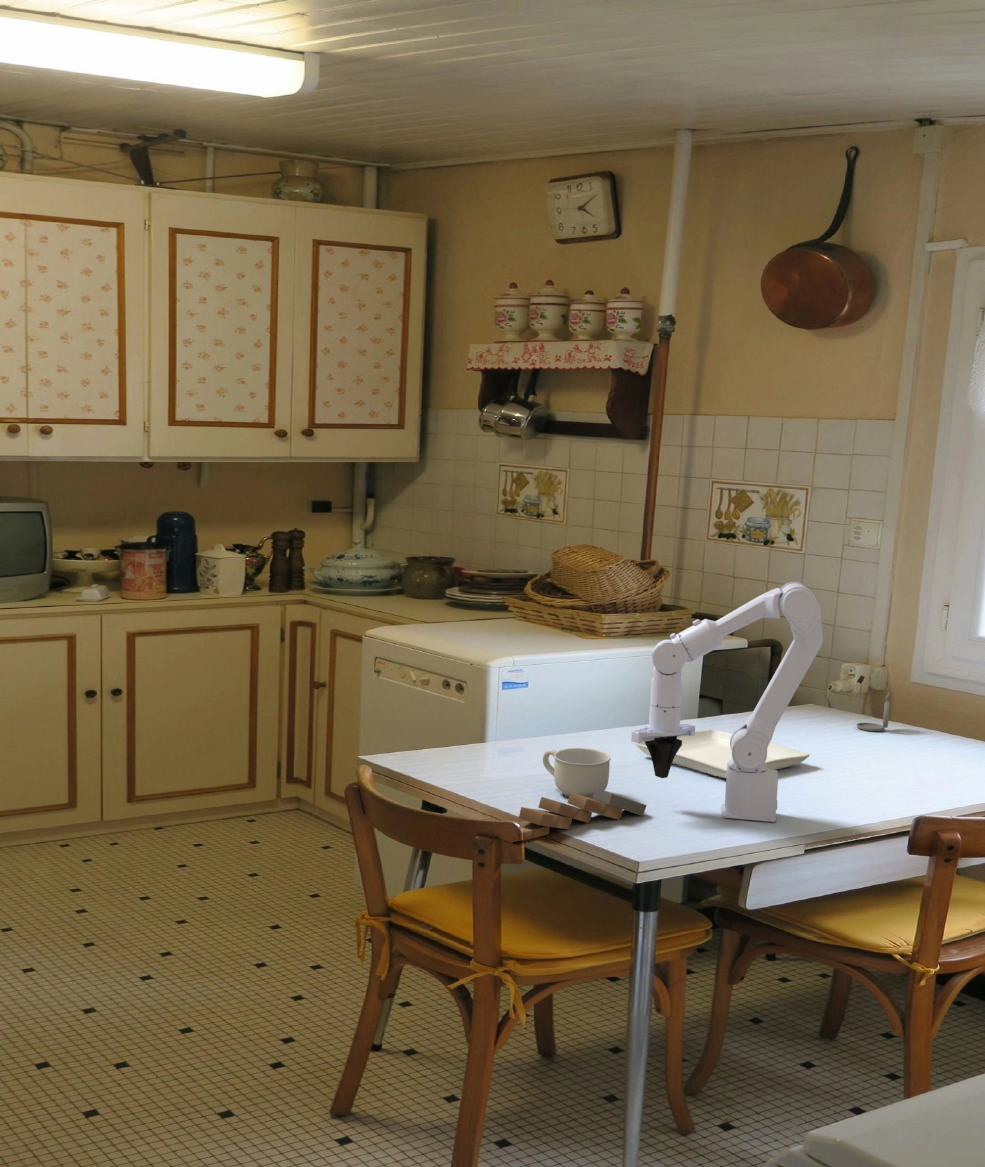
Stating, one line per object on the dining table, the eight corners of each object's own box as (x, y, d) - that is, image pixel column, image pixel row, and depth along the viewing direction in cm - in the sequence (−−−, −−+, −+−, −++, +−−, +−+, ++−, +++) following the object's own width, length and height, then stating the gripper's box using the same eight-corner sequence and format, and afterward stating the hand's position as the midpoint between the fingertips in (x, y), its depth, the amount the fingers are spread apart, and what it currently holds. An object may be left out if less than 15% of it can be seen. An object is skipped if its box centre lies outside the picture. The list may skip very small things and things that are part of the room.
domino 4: (606, 802, 232) (570, 792, 226) (622, 809, 228) (586, 798, 223) (602, 813, 231) (567, 803, 226) (619, 820, 228) (583, 809, 222)
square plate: (632, 758, 276) (633, 741, 275) (712, 743, 293) (713, 727, 293) (731, 787, 255) (732, 768, 255) (811, 769, 273) (812, 751, 273)
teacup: (619, 797, 243) (622, 756, 242) (582, 806, 235) (584, 764, 235) (566, 781, 253) (568, 741, 252) (528, 789, 245) (530, 749, 244)
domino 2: (530, 819, 221) (493, 828, 214) (549, 826, 217) (512, 835, 211) (529, 830, 221) (492, 840, 214) (549, 837, 217) (512, 847, 211)
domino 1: (551, 811, 224) (521, 807, 217) (572, 818, 221) (542, 813, 214) (548, 822, 223) (518, 818, 216) (569, 829, 220) (539, 825, 213)
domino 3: (572, 806, 228) (541, 796, 222) (592, 812, 225) (560, 802, 219) (569, 817, 228) (538, 807, 222) (589, 823, 224) (557, 813, 218)
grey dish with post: (851, 726, 318) (854, 687, 317) (881, 726, 320) (884, 687, 319) (868, 734, 310) (871, 693, 309) (899, 733, 312) (902, 693, 311)
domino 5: (629, 799, 235) (595, 787, 230) (646, 805, 231) (612, 794, 226) (626, 809, 234) (592, 798, 229) (643, 815, 231) (608, 804, 226)
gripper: (678, 697, 242) (674, 767, 244) (621, 704, 234) (617, 776, 235) (705, 704, 237) (700, 775, 238) (648, 711, 228) (644, 785, 229)
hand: (661, 776), depth 236 cm, fingers closed
